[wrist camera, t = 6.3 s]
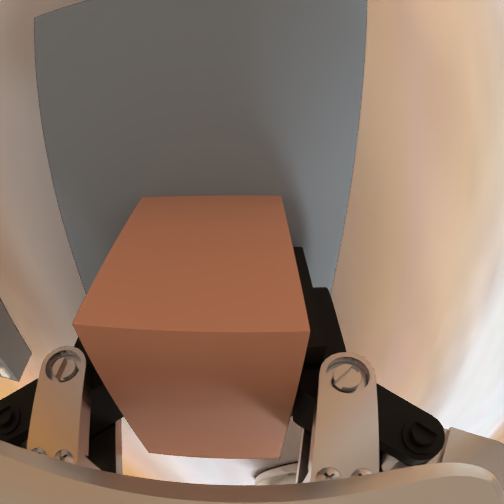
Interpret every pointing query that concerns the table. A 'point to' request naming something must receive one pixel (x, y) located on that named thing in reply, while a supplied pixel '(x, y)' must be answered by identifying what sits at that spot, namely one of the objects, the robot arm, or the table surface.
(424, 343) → the table surface
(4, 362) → the board
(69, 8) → the stub
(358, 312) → the table surface
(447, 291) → the table surface
